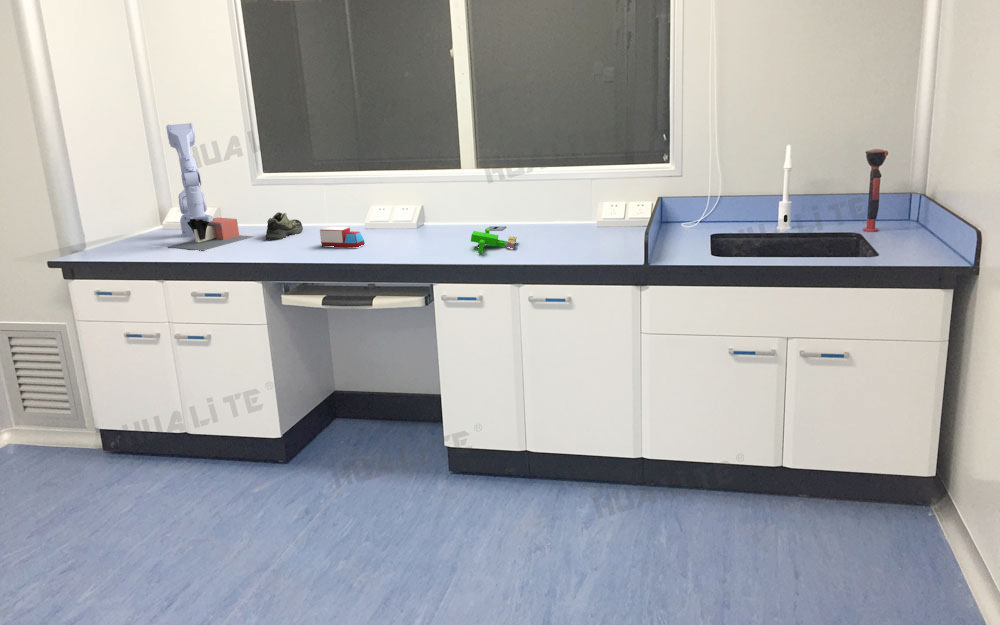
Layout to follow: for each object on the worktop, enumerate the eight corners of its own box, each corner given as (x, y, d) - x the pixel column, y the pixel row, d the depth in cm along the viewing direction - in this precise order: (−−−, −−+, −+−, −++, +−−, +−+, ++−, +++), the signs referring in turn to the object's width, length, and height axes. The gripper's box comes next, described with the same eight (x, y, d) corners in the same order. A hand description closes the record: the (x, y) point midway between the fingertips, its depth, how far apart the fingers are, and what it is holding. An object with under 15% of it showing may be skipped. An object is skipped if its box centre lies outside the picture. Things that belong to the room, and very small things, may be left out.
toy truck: (357, 249, 291) (355, 230, 289) (321, 247, 297) (319, 229, 295) (365, 245, 296) (363, 227, 294) (329, 244, 302) (327, 226, 300)
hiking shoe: (309, 230, 331) (306, 207, 328) (282, 241, 311) (279, 217, 308) (290, 230, 333) (287, 207, 330) (262, 241, 313) (259, 217, 311)
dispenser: (202, 238, 321) (199, 221, 319) (219, 234, 328) (217, 217, 326) (222, 240, 315) (219, 223, 313) (239, 235, 323) (237, 218, 321)
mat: (167, 247, 309) (167, 246, 309) (219, 234, 330) (219, 233, 330) (203, 251, 299) (203, 250, 299) (254, 237, 320) (254, 236, 320)
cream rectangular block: (195, 242, 313) (193, 229, 311) (218, 236, 322) (216, 223, 320) (198, 242, 312) (196, 229, 310) (220, 236, 321) (219, 224, 319)
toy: (515, 247, 293) (474, 239, 294) (517, 233, 291) (476, 226, 292) (510, 262, 272) (466, 254, 272) (512, 248, 270) (468, 239, 271)
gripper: (173, 204, 310) (179, 239, 314) (199, 206, 303) (205, 242, 307) (188, 201, 316) (194, 236, 320) (214, 203, 308) (220, 238, 312)
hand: (200, 239), depth 314 cm, fingers closed on cream rectangular block
